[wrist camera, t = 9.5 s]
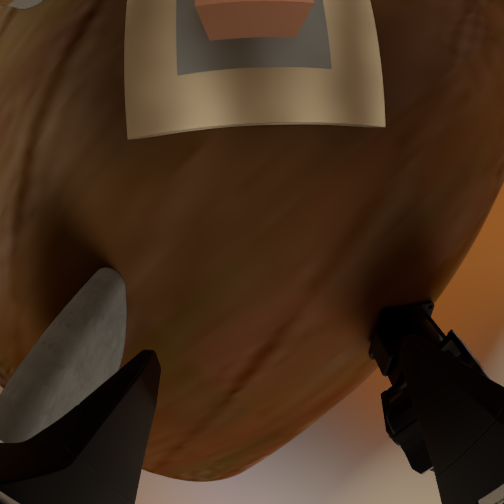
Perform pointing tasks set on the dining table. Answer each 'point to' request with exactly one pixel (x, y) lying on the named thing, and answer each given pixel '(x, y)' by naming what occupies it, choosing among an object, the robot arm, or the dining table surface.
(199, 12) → the terracotta cube
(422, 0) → the dining table surface
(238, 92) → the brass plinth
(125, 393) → the robot arm
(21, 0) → the coffee cup
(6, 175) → the dining table surface
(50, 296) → the dining table surface
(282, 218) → the dining table surface
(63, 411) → the hip flask
